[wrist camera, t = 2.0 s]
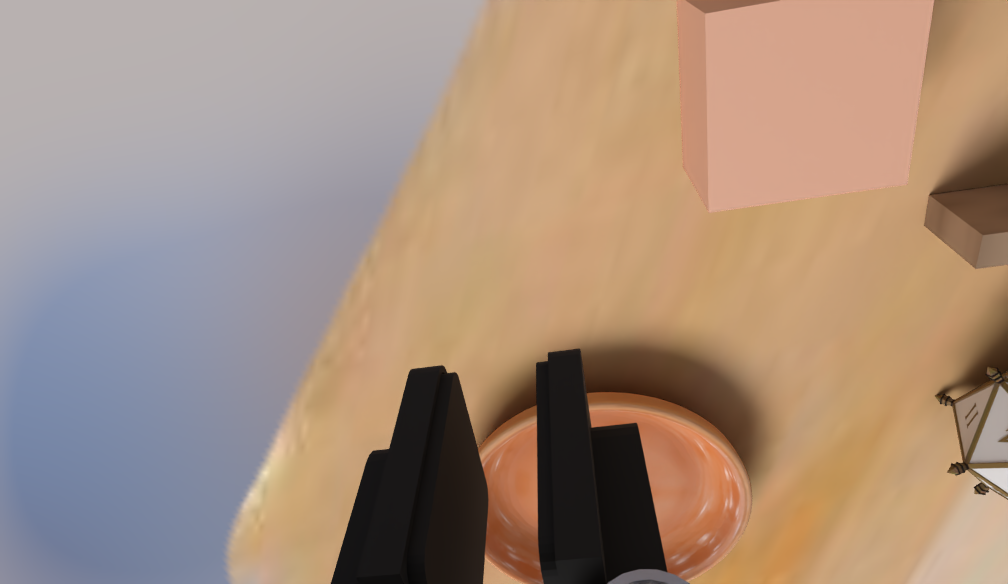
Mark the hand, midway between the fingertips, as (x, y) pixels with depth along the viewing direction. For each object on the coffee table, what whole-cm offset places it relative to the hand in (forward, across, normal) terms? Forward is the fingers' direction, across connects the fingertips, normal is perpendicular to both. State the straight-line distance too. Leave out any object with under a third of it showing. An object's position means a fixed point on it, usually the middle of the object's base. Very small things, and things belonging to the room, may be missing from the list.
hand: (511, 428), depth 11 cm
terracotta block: (+19, -10, 0) cm, 22 cm away
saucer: (+20, -1, +22) cm, 29 cm away
